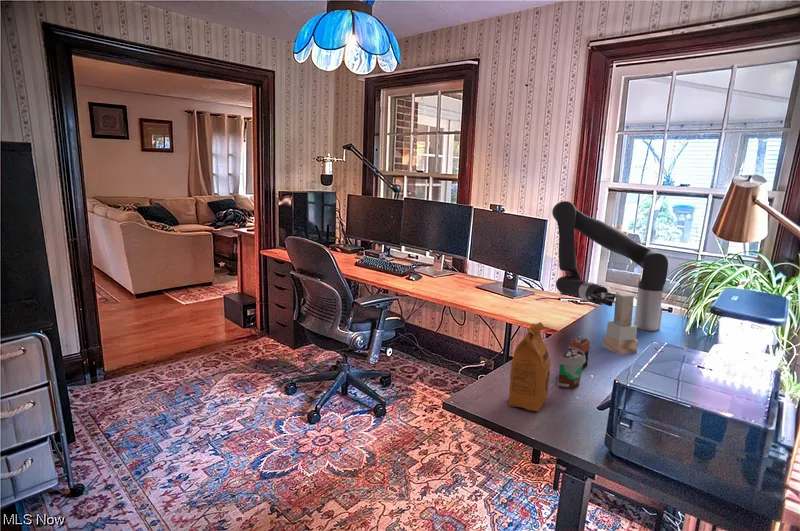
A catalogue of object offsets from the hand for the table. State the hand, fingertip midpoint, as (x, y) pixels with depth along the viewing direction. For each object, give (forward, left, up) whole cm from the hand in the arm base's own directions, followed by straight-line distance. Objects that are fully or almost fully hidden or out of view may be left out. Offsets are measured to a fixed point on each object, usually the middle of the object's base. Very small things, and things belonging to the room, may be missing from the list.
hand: (621, 303), depth 167 cm
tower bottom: (0, +2, -17) cm, 18 cm away
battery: (+26, +14, -17) cm, 34 cm away
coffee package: (+55, +34, -17) cm, 67 cm away
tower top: (0, +2, -12) cm, 13 cm away
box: (0, +2, -8) cm, 8 cm away
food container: (+36, +26, -17) cm, 48 cm away
